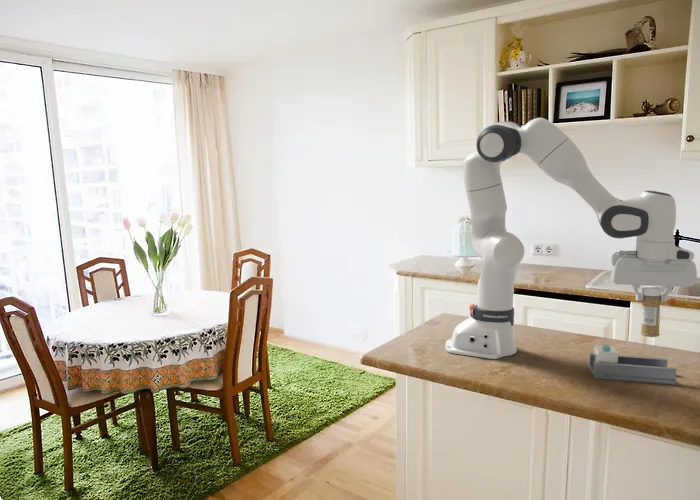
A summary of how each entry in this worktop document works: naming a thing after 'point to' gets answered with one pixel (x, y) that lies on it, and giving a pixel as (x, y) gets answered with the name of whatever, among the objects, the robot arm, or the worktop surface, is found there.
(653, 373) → the rail
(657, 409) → the worktop surface
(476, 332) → the robot arm
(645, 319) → the sprinkles bottle
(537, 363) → the worktop surface
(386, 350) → the worktop surface
